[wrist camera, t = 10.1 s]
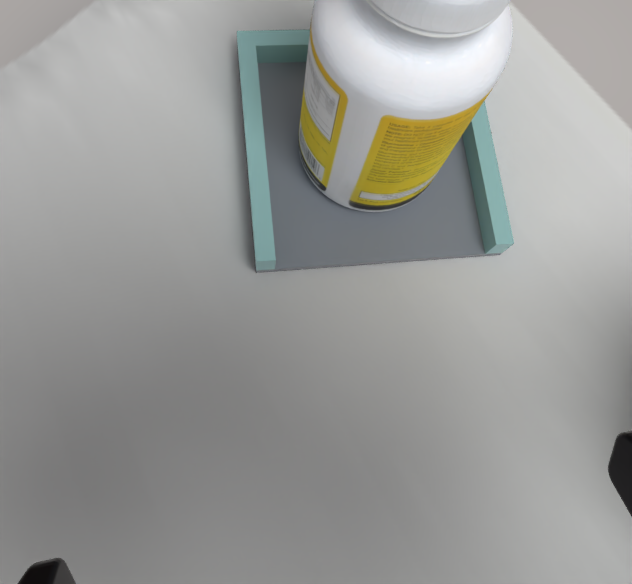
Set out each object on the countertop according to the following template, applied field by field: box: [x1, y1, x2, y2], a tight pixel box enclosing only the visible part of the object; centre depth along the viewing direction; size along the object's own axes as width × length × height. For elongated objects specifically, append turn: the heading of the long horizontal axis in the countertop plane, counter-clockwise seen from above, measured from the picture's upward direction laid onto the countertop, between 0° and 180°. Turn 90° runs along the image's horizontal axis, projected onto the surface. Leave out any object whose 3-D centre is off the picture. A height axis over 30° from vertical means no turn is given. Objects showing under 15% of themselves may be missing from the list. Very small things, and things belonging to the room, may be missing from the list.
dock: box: [237, 30, 514, 273], centre depth 25 cm, size 11×11×2 cm
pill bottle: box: [298, 0, 513, 212], centre depth 20 cm, size 6×6×12 cm
